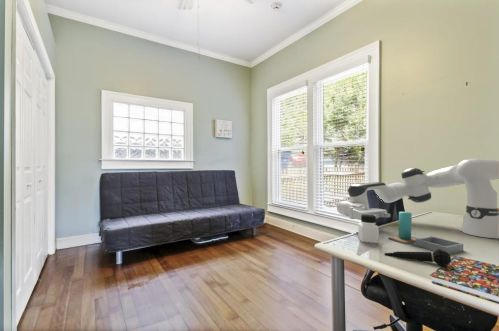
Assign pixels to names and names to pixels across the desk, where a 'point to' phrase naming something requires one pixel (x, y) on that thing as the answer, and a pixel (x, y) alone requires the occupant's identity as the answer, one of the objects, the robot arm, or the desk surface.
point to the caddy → (439, 244)
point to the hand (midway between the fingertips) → (383, 216)
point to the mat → (396, 238)
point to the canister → (405, 225)
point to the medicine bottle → (368, 229)
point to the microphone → (425, 256)
